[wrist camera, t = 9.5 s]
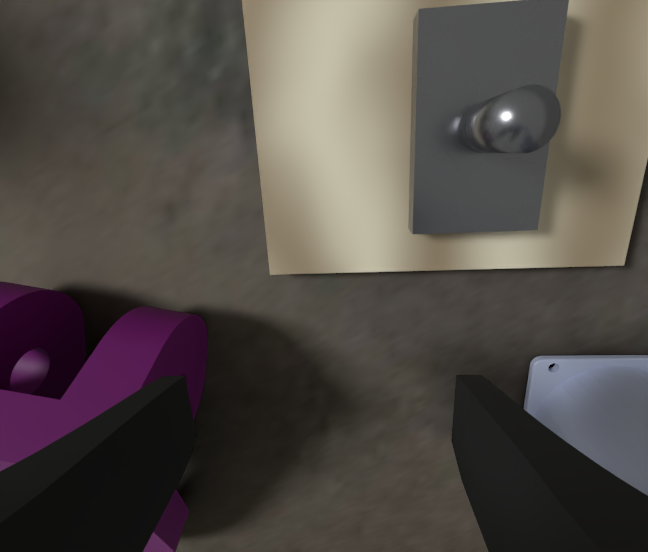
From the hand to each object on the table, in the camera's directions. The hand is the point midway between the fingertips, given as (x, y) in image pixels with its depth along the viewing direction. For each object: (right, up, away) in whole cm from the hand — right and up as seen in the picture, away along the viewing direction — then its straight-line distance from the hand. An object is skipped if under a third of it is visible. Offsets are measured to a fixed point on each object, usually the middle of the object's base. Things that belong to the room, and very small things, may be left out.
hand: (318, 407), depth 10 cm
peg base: (+6, +9, +5) cm, 12 cm away
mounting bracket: (-12, -5, +13) cm, 18 cm away
